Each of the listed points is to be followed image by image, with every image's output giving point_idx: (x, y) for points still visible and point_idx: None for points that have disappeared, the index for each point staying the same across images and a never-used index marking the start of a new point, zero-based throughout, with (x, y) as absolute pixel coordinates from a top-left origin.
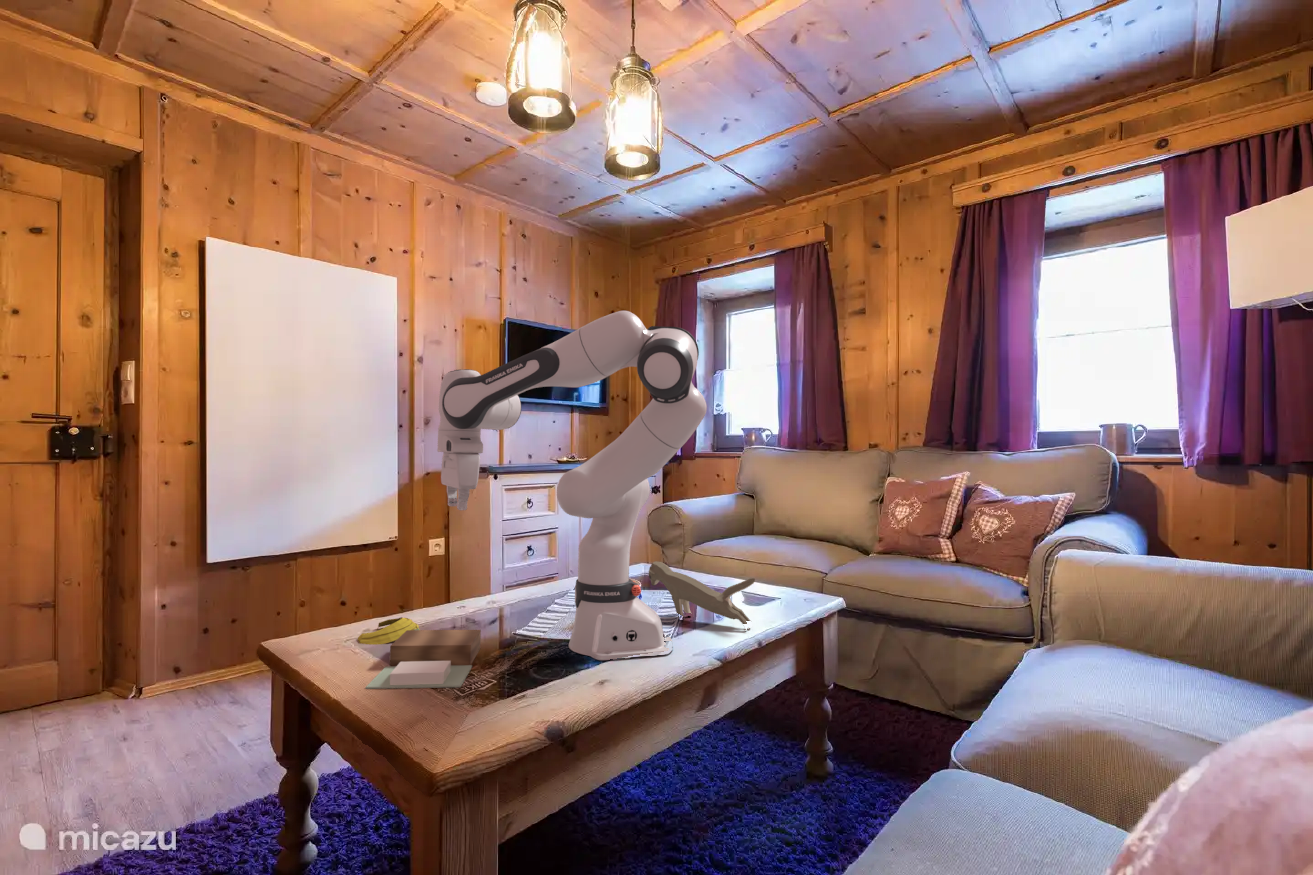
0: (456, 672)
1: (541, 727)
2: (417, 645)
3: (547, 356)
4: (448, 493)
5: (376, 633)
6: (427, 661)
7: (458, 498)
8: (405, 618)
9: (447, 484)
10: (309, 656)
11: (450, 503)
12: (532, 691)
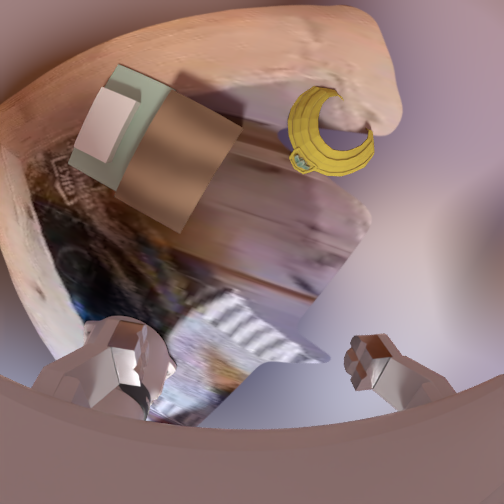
0: (104, 168)
1: None
2: (150, 125)
3: None
4: (413, 374)
5: (312, 104)
6: (117, 134)
7: (78, 354)
8: (336, 156)
9: (373, 423)
10: (289, 24)
11: (359, 346)
12: (36, 228)
